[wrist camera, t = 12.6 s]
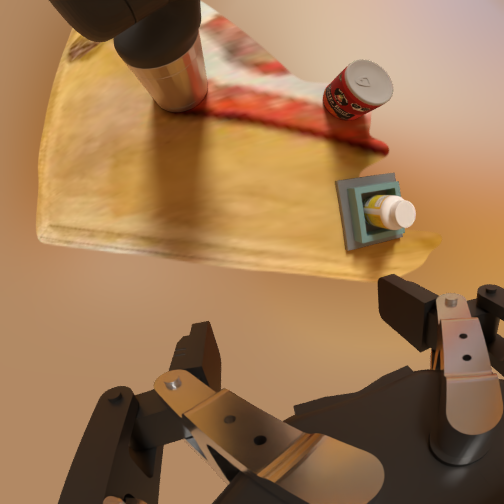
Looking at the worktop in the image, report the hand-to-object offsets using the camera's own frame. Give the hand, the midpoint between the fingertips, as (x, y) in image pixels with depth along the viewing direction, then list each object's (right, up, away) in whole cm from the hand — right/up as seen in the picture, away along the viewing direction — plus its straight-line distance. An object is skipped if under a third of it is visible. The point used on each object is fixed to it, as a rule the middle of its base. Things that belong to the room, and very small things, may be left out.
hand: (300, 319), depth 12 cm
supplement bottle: (+19, +10, +33) cm, 39 cm away
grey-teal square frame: (+19, +10, +33) cm, 40 cm away
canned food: (+14, +29, +29) cm, 44 cm away
